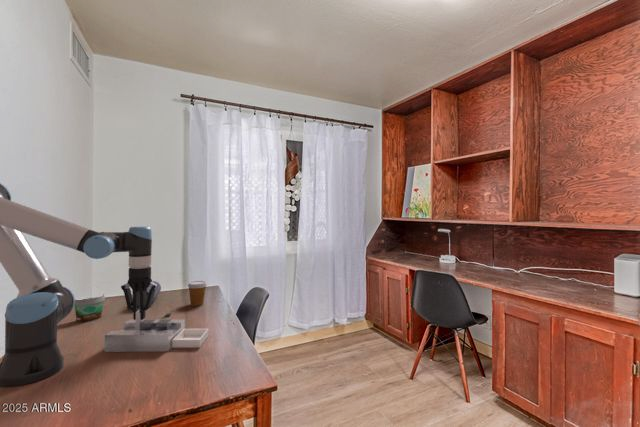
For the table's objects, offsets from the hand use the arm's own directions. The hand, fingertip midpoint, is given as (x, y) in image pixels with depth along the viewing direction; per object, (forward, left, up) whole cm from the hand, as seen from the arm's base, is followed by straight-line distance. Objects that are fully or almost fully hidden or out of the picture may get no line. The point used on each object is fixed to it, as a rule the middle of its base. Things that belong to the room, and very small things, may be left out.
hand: (139, 327), depth 117 cm
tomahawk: (+20, +3, -6) cm, 22 cm away
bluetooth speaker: (+51, +21, -6) cm, 55 cm away
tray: (0, -20, -6) cm, 21 cm away
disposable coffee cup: (+48, -6, -6) cm, 49 cm away
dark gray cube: (0, -3, -2) cm, 4 cm away
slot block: (0, -3, -6) cm, 6 cm away
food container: (+25, +34, -6) cm, 42 cm away
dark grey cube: (0, -9, -2) cm, 9 cm away
